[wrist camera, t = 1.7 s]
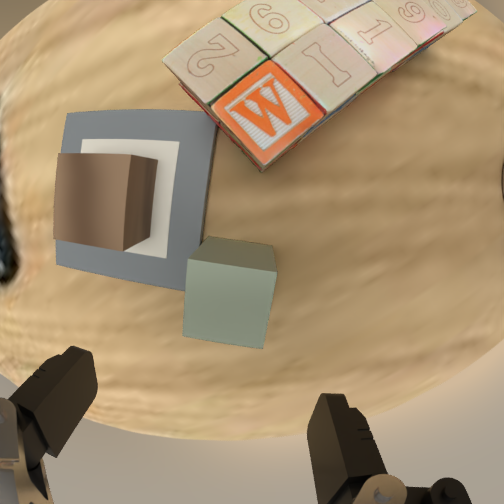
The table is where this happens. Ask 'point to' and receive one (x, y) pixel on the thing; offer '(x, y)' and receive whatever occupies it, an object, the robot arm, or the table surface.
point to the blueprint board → (184, 193)
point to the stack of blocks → (300, 62)
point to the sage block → (229, 292)
